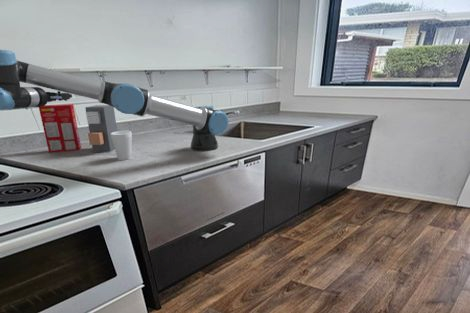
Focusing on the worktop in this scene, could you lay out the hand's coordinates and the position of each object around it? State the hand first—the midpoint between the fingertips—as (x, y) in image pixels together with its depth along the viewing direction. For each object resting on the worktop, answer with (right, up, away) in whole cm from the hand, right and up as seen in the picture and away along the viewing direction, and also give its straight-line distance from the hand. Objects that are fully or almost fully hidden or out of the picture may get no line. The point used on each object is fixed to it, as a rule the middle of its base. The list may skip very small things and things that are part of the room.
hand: (73, 95), depth 124 cm
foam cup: (+20, -30, +9) cm, 37 cm away
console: (+3, -24, +27) cm, 36 cm away
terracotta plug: (+2, -20, +22) cm, 30 cm away
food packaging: (-20, -25, +26) cm, 41 cm away
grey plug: (+2, -9, +20) cm, 23 cm away
